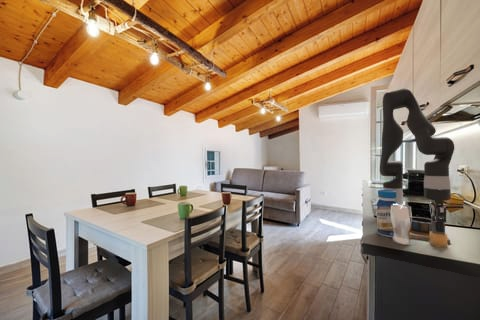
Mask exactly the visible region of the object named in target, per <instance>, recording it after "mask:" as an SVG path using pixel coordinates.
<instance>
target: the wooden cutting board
mask: <svg viewBox="0 0 480 320" xmlns="http://www.w3.org/2000/svg"><path fill="white" fill-rule="evenodd" d="M410 239H415V240H416V239H417V240H422V241H428V242H430V234H426V233H419V232H415V231H412V230H410ZM447 244H449V245H450V244H451V239H450V238H449V237H448V236H447Z"/></svg>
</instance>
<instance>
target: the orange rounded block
mask: <svg viewBox="0 0 480 320" xmlns="http://www.w3.org/2000/svg"><path fill="white" fill-rule="evenodd" d="M447 237H448V234H447V233H446V223H444V232H443V233H442V232H437V231H436V224H435V221H431V231H430V241H429V244H430V245H432V246H435V247H439V248H447V247H448V244H447Z"/></svg>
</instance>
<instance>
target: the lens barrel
mask: <svg viewBox="0 0 480 320" xmlns="http://www.w3.org/2000/svg"><path fill="white" fill-rule="evenodd" d="M431 221H432V218H427V217H423V216H422V217H421V216H412V223H411V228H410V230H412V231H415V232H419V233H426V234H430V231H431Z"/></svg>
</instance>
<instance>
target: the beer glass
mask: <svg viewBox="0 0 480 320" xmlns="http://www.w3.org/2000/svg"><path fill="white" fill-rule="evenodd" d="M412 214H413V213H412V206H410V205H407V204H403V205H401V204H391V207H390V218H391V223H392V228H393V237H391V238H392V239H391V240H392V242H393V243H395V244H397V245H403V246H410V245H412V241H411V238H410V228H411V223H412V217H413V215H412Z"/></svg>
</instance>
